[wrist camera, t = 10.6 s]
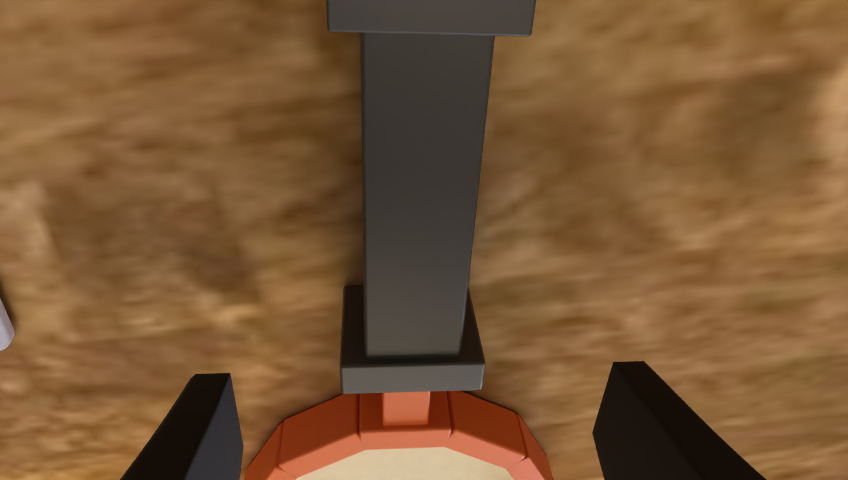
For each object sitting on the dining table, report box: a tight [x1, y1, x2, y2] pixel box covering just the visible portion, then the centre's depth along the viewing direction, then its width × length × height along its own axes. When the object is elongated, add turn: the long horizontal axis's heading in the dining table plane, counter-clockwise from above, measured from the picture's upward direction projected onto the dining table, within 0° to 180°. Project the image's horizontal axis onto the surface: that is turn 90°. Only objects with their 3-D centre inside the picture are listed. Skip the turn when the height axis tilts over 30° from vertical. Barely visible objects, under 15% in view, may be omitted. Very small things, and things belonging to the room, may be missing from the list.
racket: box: [245, 0, 553, 480], centre depth 18 cm, size 11×24×3 cm, turn 177°
